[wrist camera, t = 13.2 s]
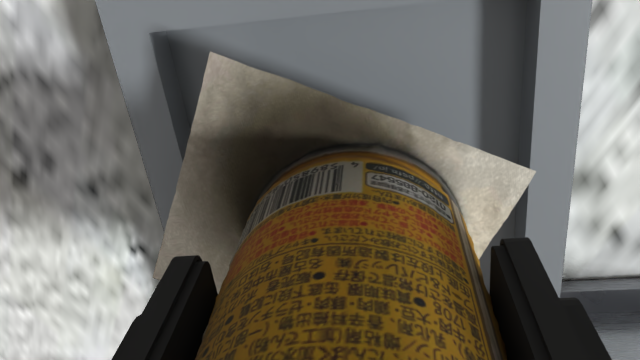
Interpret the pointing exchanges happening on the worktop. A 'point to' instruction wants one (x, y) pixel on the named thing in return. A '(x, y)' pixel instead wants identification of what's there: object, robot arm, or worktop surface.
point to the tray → (377, 80)
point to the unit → (611, 312)
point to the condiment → (335, 226)
